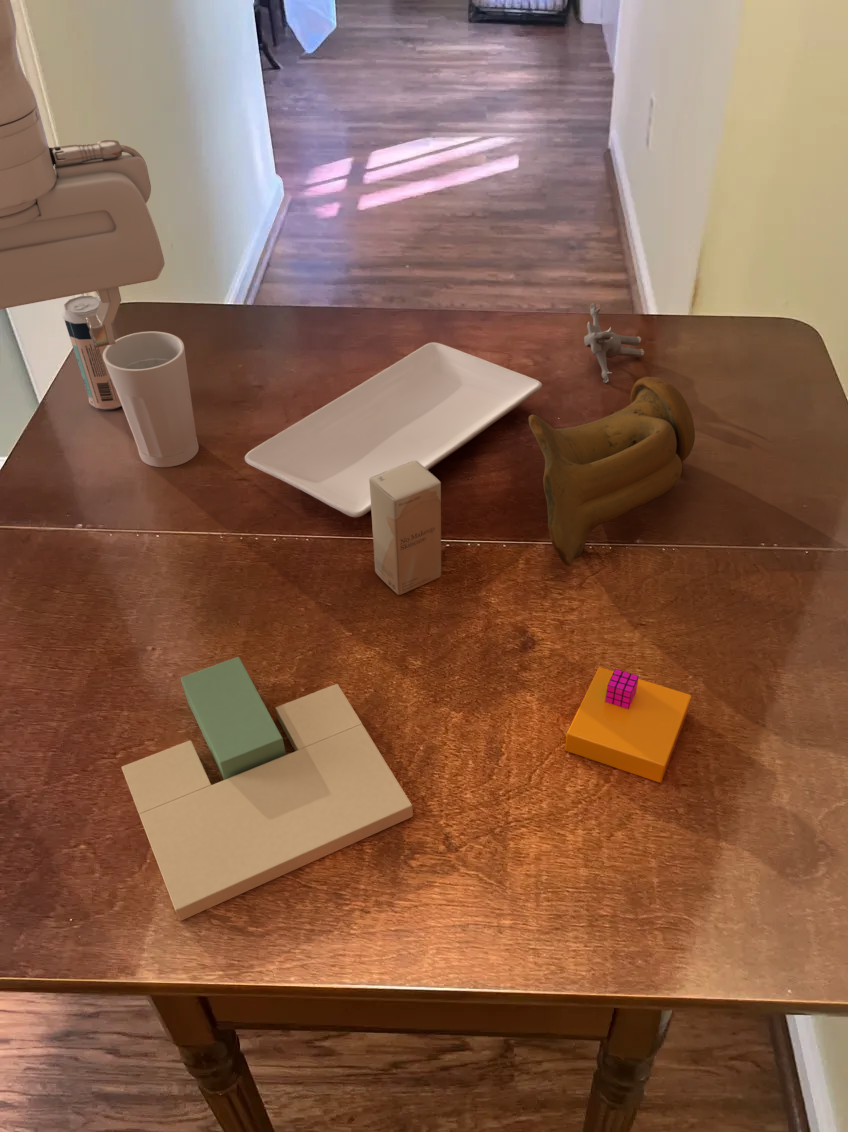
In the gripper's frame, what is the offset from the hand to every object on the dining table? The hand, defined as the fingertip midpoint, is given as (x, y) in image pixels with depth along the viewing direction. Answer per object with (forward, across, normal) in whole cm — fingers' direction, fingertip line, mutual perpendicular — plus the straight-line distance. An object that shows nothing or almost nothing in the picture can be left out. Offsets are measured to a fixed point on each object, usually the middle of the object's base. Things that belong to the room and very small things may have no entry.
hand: (38, 356), depth 72 cm
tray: (+25, -34, -12) cm, 44 cm away
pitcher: (+24, -48, +8) cm, 54 cm away
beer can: (+26, -8, -35) cm, 45 cm away
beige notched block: (+25, -5, +27) cm, 37 cm away
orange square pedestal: (+24, -33, +34) cm, 53 cm away
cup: (+26, -11, -22) cm, 36 cm away
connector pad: (+25, -5, +19) cm, 32 cm away
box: (+25, -26, +8) cm, 37 cm away
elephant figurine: (+24, -64, -16) cm, 71 cm away
